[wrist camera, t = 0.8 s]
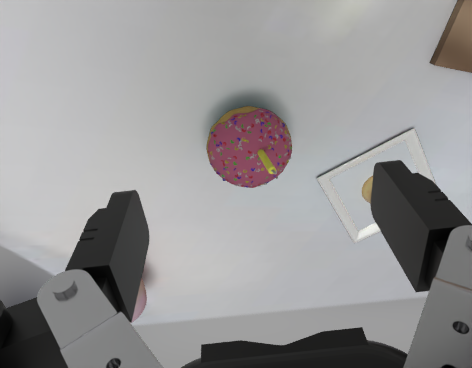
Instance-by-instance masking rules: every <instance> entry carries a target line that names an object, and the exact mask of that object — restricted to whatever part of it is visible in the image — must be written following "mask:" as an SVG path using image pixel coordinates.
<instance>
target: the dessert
mask: <svg viewBox="0 0 472 368" xmlns="http://www.w3.org/2000/svg"><path fill="white" fill-rule="evenodd" d="M403 141H405V142H406V144H407V147H408V149H409V151H410V154H411V156H412V159H413V161H414V164H415V166H416V169H417V171H418V173H419V174H421V175H423V176H425V177H427V178H428V179H430V180H432V181H433V182H434V183H435V180H434V177H433V175H432V172H431V170H430V167H429V164H428V162H427V159H426V156H425V154H424V151H423V149H422V146H421V143H420V141H419V138H418V135H417V133H416V130H415V129H414V128H413V129H411V130H409V131H407V132H405V133H403V134H401V135H400V136H398V137H396V138H394V139H392V140H390V141H388V142H386V143H384V144H382V145H380V146H378V147H376V148H374V149H372V150H370V151H369V152H367V153H365V154H363V155H361V156H359V157H357V158H355V159H353V160H351V161H349V162H347V163H345V164H343V165H341V166H339V167H338V168H336V169H334V170H332V171H330V172H328V173H326V174H324V175H322V176H320V177H318V178H317V180H318V182H319V184H320V185H321V187H322V189H323V191H324V192H325V194H326V196H327V197H328V199H329V201H330V203H331V204H332V206H333V208H334V210H335V211H336V213H337V215H338V216H339V218H340V220H341V222H342V223H343V225H344V227H345V228H346V230H347V232H348V234H349V235H350V237H351V239H352V240H353V242H354V243H357V242H359V241H361V240H363V239H366V238H368V237H370V236H372V235H374V234H376V233H379V232H381V230H380V229H379V227H378V225H377V223H374V224H372V225H370V226H368V227H366V228H364V229H362V230H359V231H358V230H357V228H356V226H355V224H354V222H353V220H352V219H351V217H350V215H349V213H348V211H347V210H346V208H345V206H344V204H343V202H342V201H341V199H340V197H339V195H338V193H337V192H336V190H335V188H334V186H333V184H332V183H331V181H330V179H331V178H332V177H334V176H336V175H338V174H340V173H342V172H344V171H346V170H348V169H350V168H352V167H354V166H356V165H357V164H359V163H361V162H363V161H365V160H367V159H369V158H371V157H373V156H375V155H377V154H379V153H381V152H383V151H385V150H387V149H389V148H391V147H393V146H395V145H397V144H399V143H401V142H403ZM372 183H373V176H372V177H370V178H369V179H368V180H367V181H366V182H365V183H364V185H363V187H362V196H363V198H364V199H365V200H366V201H367V202H369V203H370V204H371V192H372ZM435 184H436V183H435Z"/></svg>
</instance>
